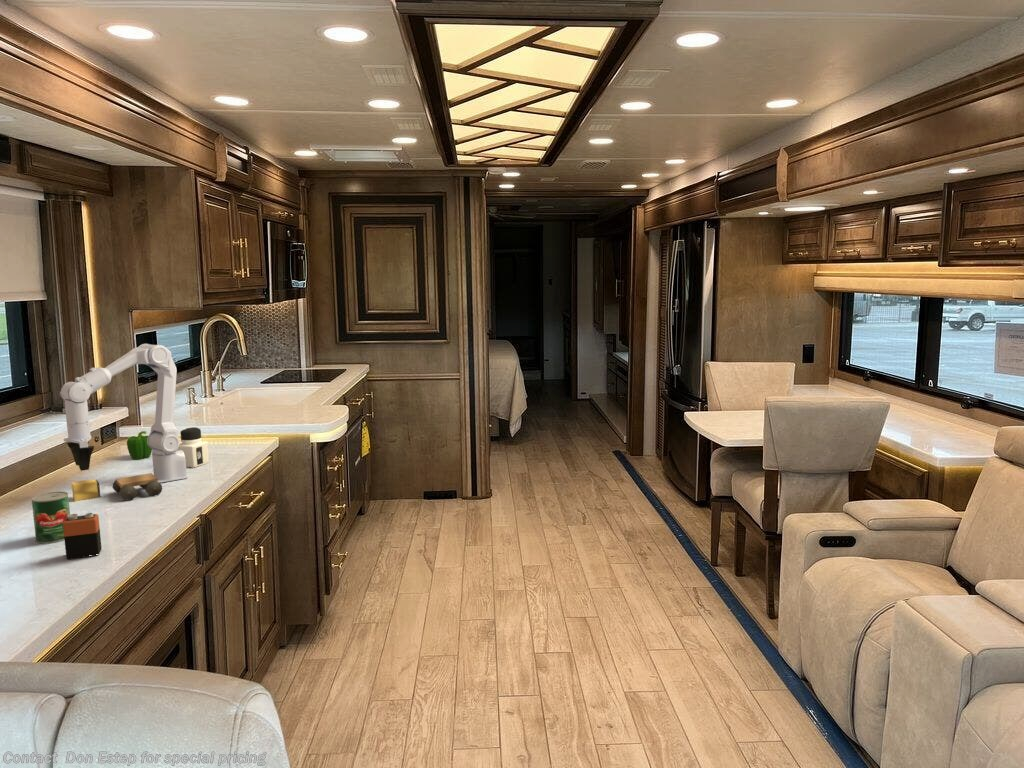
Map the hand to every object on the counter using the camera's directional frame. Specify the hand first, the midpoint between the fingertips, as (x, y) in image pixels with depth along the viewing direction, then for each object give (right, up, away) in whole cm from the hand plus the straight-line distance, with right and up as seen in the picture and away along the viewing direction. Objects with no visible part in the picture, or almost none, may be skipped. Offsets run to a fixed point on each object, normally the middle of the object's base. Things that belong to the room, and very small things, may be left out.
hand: (82, 467), depth 217 cm
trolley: (+14, -9, +5) cm, 17 cm away
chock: (0, -9, +1) cm, 10 cm away
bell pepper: (-8, -2, +50) cm, 50 cm away
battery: (+26, -16, -44) cm, 53 cm away
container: (+16, -4, +39) cm, 42 cm away
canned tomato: (+12, -14, -32) cm, 37 cm away
